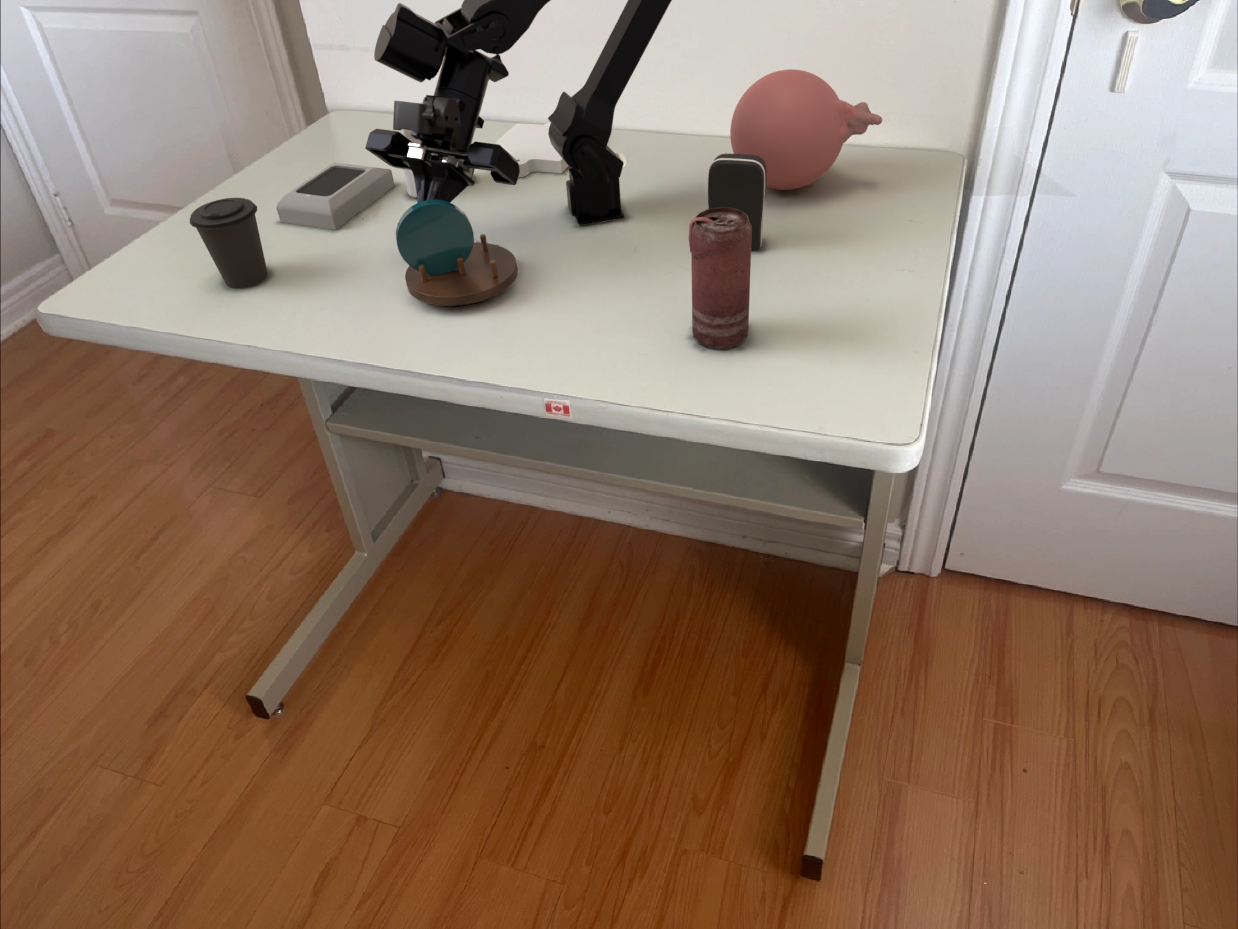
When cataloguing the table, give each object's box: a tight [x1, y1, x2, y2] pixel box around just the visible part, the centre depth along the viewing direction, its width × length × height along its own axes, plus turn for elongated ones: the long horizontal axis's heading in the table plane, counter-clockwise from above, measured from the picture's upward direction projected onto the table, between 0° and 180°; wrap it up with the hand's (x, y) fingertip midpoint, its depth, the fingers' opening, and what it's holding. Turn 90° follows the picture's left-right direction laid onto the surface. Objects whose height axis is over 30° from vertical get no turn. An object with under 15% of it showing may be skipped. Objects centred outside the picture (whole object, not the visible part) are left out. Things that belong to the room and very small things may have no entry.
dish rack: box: [395, 200, 519, 307], centre depth 110 cm, size 14×14×10 cm
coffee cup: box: [189, 197, 269, 290], centre depth 116 cm, size 8×8×10 cm
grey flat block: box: [275, 162, 396, 231], centre depth 134 cm, size 10×4×15 cm
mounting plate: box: [493, 120, 570, 178], centre depth 144 cm, size 18×13×2 cm
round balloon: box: [729, 68, 883, 191], centre depth 125 cm, size 15×20×15 cm
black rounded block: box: [707, 153, 767, 250], centre depth 115 cm, size 7×4×11 cm, turn 74°
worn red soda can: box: [688, 207, 752, 351], centre depth 98 cm, size 6×6×14 cm
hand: (423, 225), depth 111 cm, fingers closed
